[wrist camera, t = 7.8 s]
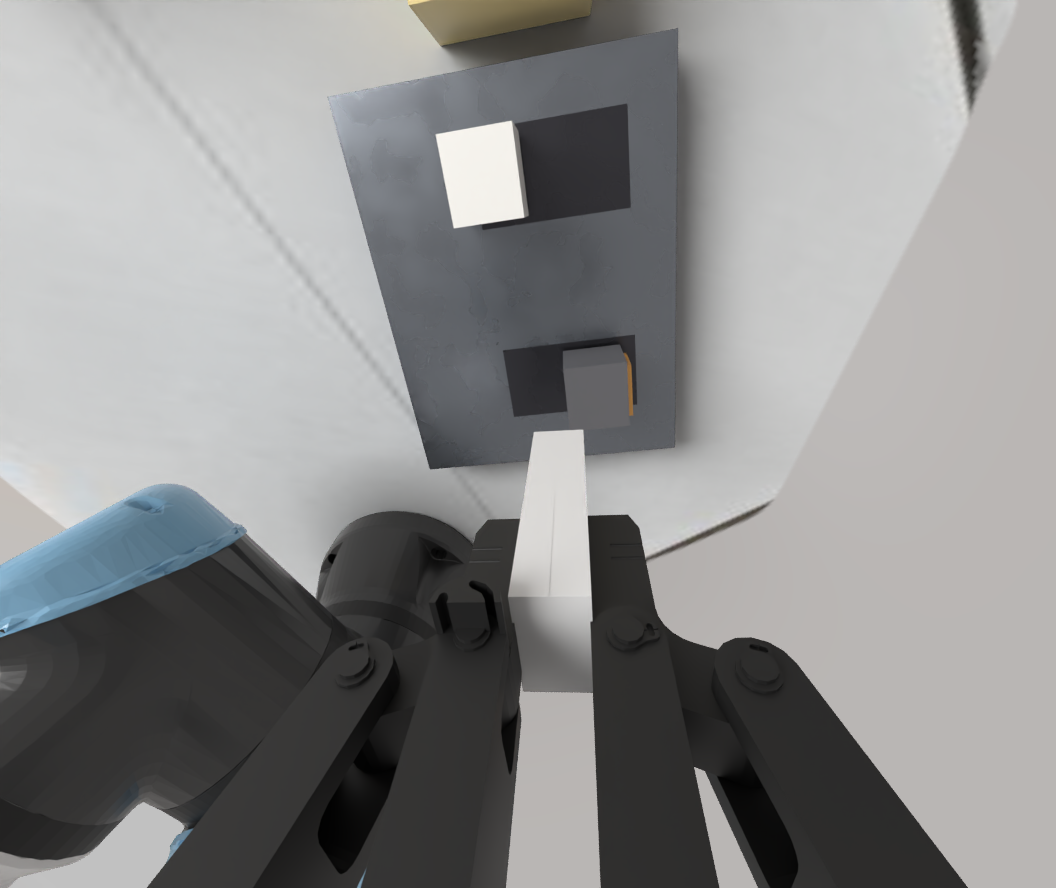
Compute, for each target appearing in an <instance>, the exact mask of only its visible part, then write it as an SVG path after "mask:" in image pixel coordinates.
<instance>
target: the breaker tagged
mask: <svg viewBox="0 0 1056 888" xmlns="http://www.w3.org/2000/svg"><path fill="white" fill-rule="evenodd" d="M563 373H564V382H565V391H566V400H567V410H568V419H569V428H570V430H593V429H603V428H614V427H624V426H630V421H629V416H631V415H633V397H632V370H631V363H630V361H629V358H628V356H627V354H626V353H623V351H622V348H621V346H620V344H619V345H610V346H602V347H593V348H585V349H576V350H568V351H563Z"/></svg>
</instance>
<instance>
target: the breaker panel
mask: <svg viewBox="0 0 1056 888" xmlns="http://www.w3.org/2000/svg"><path fill="white" fill-rule="evenodd" d="M677 89H678V28H676V29H671V30H666V31H661V32H656V33H651V34H646V35H641V36H636V37H631V38H625V39H620V40H615V41H610V42H605V43H600V44H595V45H590V46H585V47H580V48H574V49H569V50H564V51H559V52H554V53H549V54H544V55H539V56H534V57H529V58H524V59H518V60H513V61H508V62H503V63H498V64H493V65H488V66H483V67H478V68H473V69H468V70H462V71H457V72H452V73H447V74H442V75H437V76H432V77H427V78H422V79H417V80H411V81H406V82H401V83H396V84H391V85H386V86H381V87H376V88H371V89H366V90H361V91H355V92H350V93H345V94H340V95H335V96H330V97H328V100H329V104H330V108H331V111H332V115H333V119H334V122H335V126H336V130H337V133H338V137H339V140H340V144H341V148H342V151H343V155H344V159H345V162H346V166H347V170H348V173H349V177H350V180H351V184H352V188H353V191H354V195H355V199H356V202H357V206H358V210H359V213H360V217H361V220H362V224H363V228H364V231H365V235H366V239H367V242H368V246H369V249H370V253H371V257H372V260H373V264H374V268H375V271H376V275H377V279H378V282H379V286H380V289H381V293H382V297H383V300H384V304H385V308H386V311H387V315H388V319H389V322H390V326H391V329H392V333H393V337H394V340H395V344H396V348H397V351H398V355H399V359H400V362H401V366H402V369H403V373H404V377H405V380H406V384H407V388H408V391H409V395H410V398H411V402H412V406H413V409H414V413H415V417H416V420H417V424H418V428H419V431H420V435H421V438H422V442H423V446H424V449H425V453H426V457H427V460H428V464H429V468H430V469H439V468H450V467H461V466H473V465H484V464H495V463H506V462H517V461H528V460H530V454H531V447H532V441H533V435H534V432H543V431H563V430H570V428H569V419H568V410H567V400H566V391H565V382H564V373H563V351H568V350H576V349H585V348H593V347H602V346H610V345H619V344H620V346H621V348H622V351H623V353H626V354H627V356H628V358H629V361H630V363H631V370H632V397H633V415H631V416H629V421H630V426H624V427H614V428H603V429H593V430H583V434H584V454H585V455H595V454H607V453H618V452H629V451H640V450H651V449H663V448H674V447H675V338H676V213H677ZM507 121H512V122H513V123H514V125H515V127H516V128H517V130H518V132H519V140H520V149H521V157H522V165H523V173H524V181H525V189H526V197H527V205H528V213H529V216H527V217H524V218H518V219H512V220H505V221H499V222H492V223H486V224H479V225H473V226H466V227H460V228H454V227H453V222H452V217H451V211H450V206H449V201H448V196H447V191H446V186H445V180H444V175H443V170H442V165H441V160H440V155H439V149H438V144H437V139H436V134H440V133H446V132H451V131H457V130H462V129H468V128H473V127H479V126H485V125H490V124H496V123H501V122H507Z"/></svg>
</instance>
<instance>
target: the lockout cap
mask: <svg viewBox="0 0 1056 888" xmlns="http://www.w3.org/2000/svg"><path fill="white" fill-rule="evenodd" d="M408 4H409V6H410V8H411V9H412V10H413V11H414V13H415V14H416V15H417V16H418V18H419V19H420V20H421V22H422V23H423V24H424V25H425V27H426V28H427V29H428V31H429V32H430V33H431V34H432V36H433V37H434V38H435V40H436V41H437V42H438V43H439V45H440V46H443V45H448V44H453V43H458V42H463V41H467V40H472V39H477V38H482V37H487V36H492V35H497V34H502V33H507V32H512V31H516V30H521V29H526V28H531V27H536V26H541V25H546V24H551V23H556V22H561V21H565V20H570V19H575V18H580V17H585V16H590V12H591V6H592V0H408Z"/></svg>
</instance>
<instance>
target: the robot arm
mask: <svg viewBox="0 0 1056 888" xmlns="http://www.w3.org/2000/svg"><path fill="white" fill-rule="evenodd" d="M246 532H247V530H246V529H245V528H244V527H243V526H242V525H239V524H237V523H233V522H232V521H231V520H229V519H228V518H227V517H226V516H225V515H223V514H222V513H221V512H220V511H219V510H217V509H216V508H215V507H214V506H213V505H211V504H210V503H209V502H208V501H206V500H205V499H204V498H203V497H202V496H200V495H199V494H198V493H197V492H195V491H193V490H192V489H190V488H188V487H185V486H181V485H177V484H159V485H153V486H150V487H147V488H145V489H142V490H140V491H138V492H136V493H134V494H133V495H131V496H129V497H127V498H125V499H123V500H121V501H119V502H117V503H116V504H114V505H112V506H110V507H108V508H106V509H104V510H102V511H101V512H99V513H97V514H95V515H93V516H91V517H89V518H88V519H86V520H84V521H82V522H80V523H78V524H76V525H74V526H73V527H71V528H69V529H67V530H65V531H63V532H61V533H59V534H57V535H56V536H54V537H52V538H50V539H48V540H46V541H44V542H42V543H41V544H39V545H37V546H35V547H33V548H31V549H29V550H27V551H26V552H24V553H22V554H20V555H18V556H16V557H15V558H13V559H11V560H9V561H7V562H5V563H3V564H2V565H0V888H8V887H9V886H10V885H11V884H12V883H13V882H14V881H15V880H16V879H17V878H19V877H22V876H26V875H30V874H34V873H38V872H42V871H46V870H50V869H54V868H58V867H62V866H66V865H69V864H72V863H74V862H77V861H78V860H80V859H82V858H84V857H85V856H87V855H89V854H90V853H91V852H92V851H93V850H94V849H95V848H96V847H97V846H98V845H99V844H100V843H101V842H102V841H103V839H105V837H106V836H107V835H108V834H109V833H110V832H111V831H112V830H113V829H114V828H115V827H116V826H117V825H118V824H119V823H120V822H121V821H122V820H123V819H124V818H125V817H126V816H127V815H128V814H129V813H130V812H131V810H132V809H134V808H135V807H136V806H137V805H138V804H140V803H142V802H145V803H147V804H149V805H151V806H153V807H155V808H157V809H159V810H162V811H163V812H165V813H167V814H169V815H170V816H172V817H173V818H175V819H177V820H179V821H180V822H181V823H182V824H183V825H184V827H185V828H184V830H183V831H182V833H181V834H179V835H177V836H176V838H175V839H174V841H173V842H172V844H171V845H170V850H171V851H170V854H169V857H168V860H167V862H166V864H165V865H164V867H163V868H162V869H161V870H160V872H159V873H158V874H157V875H156V877H155V878H154V879H153V881H152V882H151V883H150V884H149V886H148V887H147V888H506V879H507V867H508V857H509V847H510V836H511V824H512V815H513V804H514V793H515V782H516V771H517V761H518V750H519V738H520V728H521V712H520V705H519V696H520V686H521V682H522V688H523V691H530V692H583V693H586V692H587V693H593V703H594V728H595V729H594V730H595V755H596V780H597V805H598V830H599V855H600V878H601V879H600V880H601V888H719V884H718V880H717V875H716V870H715V865H714V860H713V855H712V851H711V846H710V841H709V837H708V832H707V827H706V823H705V817H704V813H703V809H702V803H701V798H700V794H699V789H698V784H697V780H696V775H695V770H694V767H696V768H699V769H701V770H704V771H705V772H706V774H707V777H708V779H709V781H710V783H711V785H712V787H713V790H714V792H715V794H716V796H717V798H718V801H719V803H720V805H721V807H722V809H723V812H724V814H725V816H726V818H727V820H728V823H729V825H730V827H731V829H732V831H733V834H734V836H735V838H736V840H737V842H738V845H739V847H740V849H741V851H742V853H743V856H744V858H745V860H746V862H747V864H748V867H749V868H750V871H751V873H752V875H753V878H754V880H755V882H756V884H757V886H758V888H968V887H967V886H966V885H965V883H964V882H963V881H962V879H961V878H960V877H959V875H958V874H957V873H956V871H955V870H954V869H953V868H952V866H951V865H950V864H949V862H948V861H947V860H946V858H945V857H944V856H943V854H942V853H941V852H940V851H939V849H938V848H937V847H936V845H935V844H934V843H933V841H932V840H931V839H930V838H929V836H928V835H927V834H926V832H925V831H924V830H923V829H922V827H921V826H920V824H919V823H918V822H917V820H916V819H915V818H914V816H913V815H912V814H911V813H910V811H909V810H908V809H907V807H906V806H905V805H904V803H903V802H902V801H901V799H900V798H899V797H898V795H897V794H896V793H895V792H894V790H893V789H892V788H891V786H890V785H889V784H888V783H887V781H886V780H885V779H884V777H883V776H882V775H881V773H880V772H879V771H878V769H877V768H876V767H875V766H874V764H873V763H872V762H871V760H870V759H869V758H868V756H867V755H866V754H865V752H864V751H863V750H862V748H861V747H860V746H859V745H858V743H857V742H856V741H855V739H854V738H853V737H852V735H851V734H850V733H849V731H848V730H847V729H846V728H845V726H844V725H843V723H842V722H841V721H840V720H839V718H838V717H837V716H836V714H835V713H834V712H833V710H832V709H831V708H830V707H829V705H828V704H827V703H826V701H825V700H824V699H823V697H822V696H821V695H820V693H819V692H818V691H817V690H816V688H815V687H814V686H813V684H812V683H811V682H810V680H809V679H808V678H807V676H806V675H805V674H804V672H803V671H802V670H801V668H800V667H799V666H798V665H797V663H796V662H795V661H794V660H793V659H791V658H790V657H789V656H788V655H787V654H786V653H785V652H784V651H783V650H781V649H779V648H778V647H776V646H774V645H772V644H771V643H769V642H766V641H762V640H759V639H755V638H735V639H732V640H730V641H728V642H725V643H723V645H722V646H721V647H720V648H719V649H718V650H717V649H713V648H709V647H706V646H703V645H699V644H696V643H693V642H690V641H687V640H685V639H682V638H681V637H679V636H677V635H676V634H674V633H672V632H671V631H670V630H669V629H668V628H667V627H666V626H665V625H664V624H663V622H662V621H661V620H660V618H659V617H658V614H657V611H656V609H655V605H654V599H653V595H652V590H651V584H650V579H649V575H648V570H647V565H646V560H645V555H644V550H643V547H642V540H641V535H640V530H639V527H638V526H637V525H636V524H635V523H634V521H633V520H632V519H631V518H630V517H629V516H628V515H599V516H588V515H587V495H586V475H585V454H584V434H583V430H563V431H543V432H534V435H533V441H532V447H531V454H530V460H529V466H528V473H527V479H526V485H525V492H524V498H523V504H522V511H521V517H520V519H495V520H487V522H486V523H485V524H484V525H483V526H482V527H481V528H480V530H479V531H478V532H477V533H476V537H475V541H474V544H473V546H472V544H471V543H470V542H469V541H468V540H467V539H466V538H465V537H463V536H462V535H461V534H460V533H458V532H457V531H456V530H454V529H453V528H451V527H449V526H448V525H446V524H444V523H442V522H440V521H437V520H435V519H432V518H430V517H427V516H423V515H419V514H415V513H409V512H394V511H393V512H381V513H375V514H371V515H368V516H365V517H362V518H360V519H358V520H356V521H354V522H352V523H351V524H349V525H348V526H347V527H346V528H345V529H344V530H342V532H341V533H340V534H339V535H338V537H337V538H336V540H335V541H334V543H333V544H332V546H331V547H330V549H329V550H328V552H327V554H326V556H325V558H324V560H323V563H322V566H321V571H320V576H319V582H318V587H317V592H316V598H315V597H313V596H312V595H311V594H310V593H309V592H308V591H307V590H306V589H305V588H304V587H303V586H302V585H301V584H299V583H298V582H297V581H296V580H295V579H294V578H293V577H292V576H291V575H290V574H289V573H288V572H287V571H286V570H284V569H283V568H282V567H281V566H280V565H279V564H278V563H277V562H276V561H275V560H274V559H273V558H272V557H270V556H269V555H268V554H267V553H266V552H265V551H264V550H263V549H262V548H261V547H260V546H259V545H258V544H256V543H255V542H254V541H253V540H252V539H251V538H250V537H249V536H248V535H247V534H246Z"/></svg>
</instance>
